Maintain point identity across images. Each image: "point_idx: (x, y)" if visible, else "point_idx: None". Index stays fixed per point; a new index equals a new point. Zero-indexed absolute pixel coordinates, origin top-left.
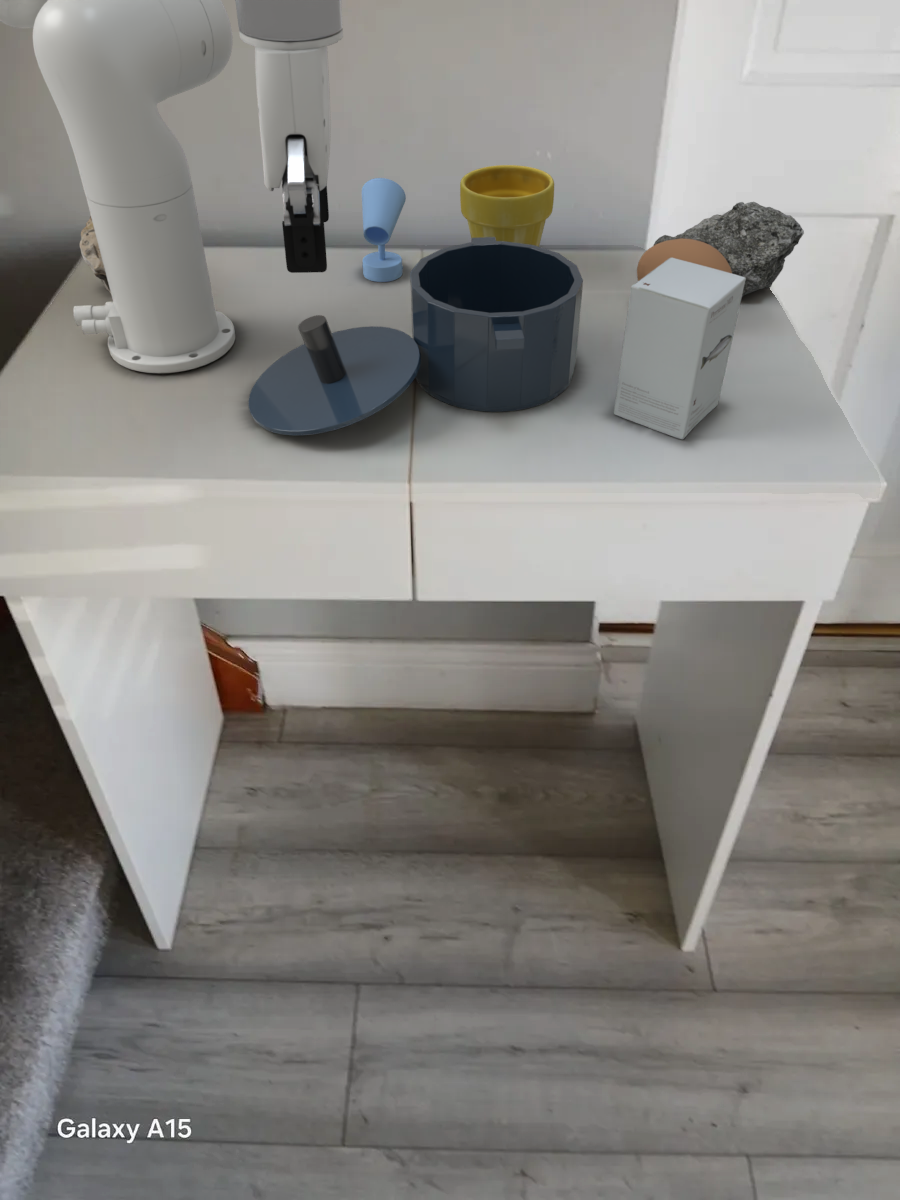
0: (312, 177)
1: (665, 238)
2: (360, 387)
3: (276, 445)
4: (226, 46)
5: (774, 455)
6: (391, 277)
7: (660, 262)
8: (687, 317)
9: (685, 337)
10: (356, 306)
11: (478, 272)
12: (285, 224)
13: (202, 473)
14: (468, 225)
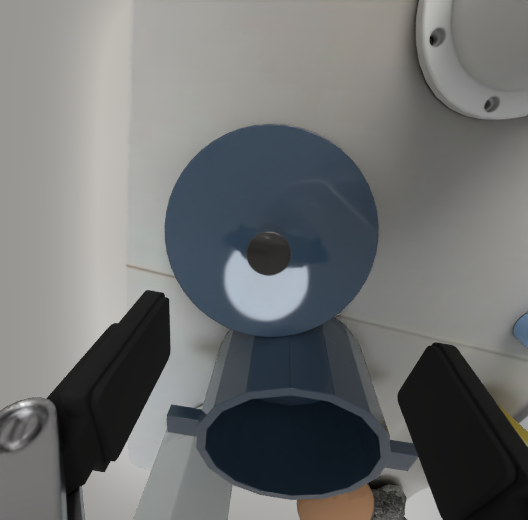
0: (470, 513)
1: (396, 517)
2: (223, 264)
3: (194, 151)
4: None
5: (152, 446)
6: (516, 331)
7: (336, 511)
8: None
9: (143, 506)
10: (476, 284)
11: (368, 426)
12: (2, 410)
13: (142, 45)
14: (523, 438)
